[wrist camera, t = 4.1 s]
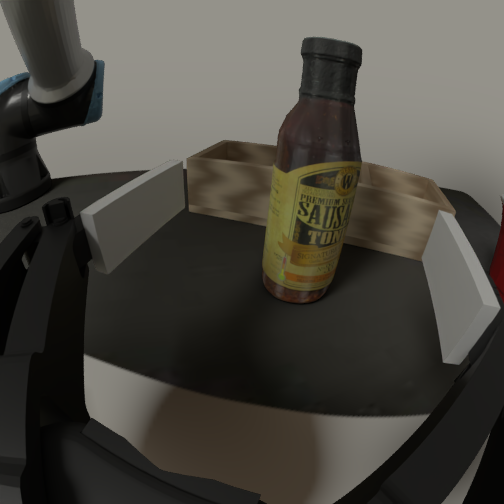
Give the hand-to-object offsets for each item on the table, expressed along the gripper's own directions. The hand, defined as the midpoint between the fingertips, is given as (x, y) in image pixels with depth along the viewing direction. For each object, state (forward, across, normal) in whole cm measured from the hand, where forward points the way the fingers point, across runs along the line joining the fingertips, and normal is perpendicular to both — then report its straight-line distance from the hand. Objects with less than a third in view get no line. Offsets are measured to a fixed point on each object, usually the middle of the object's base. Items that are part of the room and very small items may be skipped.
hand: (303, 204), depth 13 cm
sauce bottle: (+7, 0, -11) cm, 13 cm away
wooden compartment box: (+22, 0, -11) cm, 24 cm away
